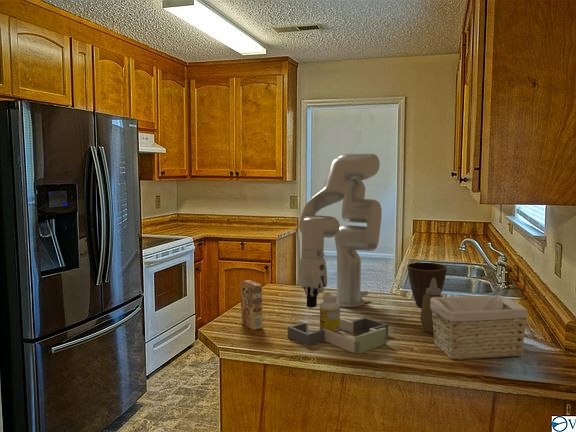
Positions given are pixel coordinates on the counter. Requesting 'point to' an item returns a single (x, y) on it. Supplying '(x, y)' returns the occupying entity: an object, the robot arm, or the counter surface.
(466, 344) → the storage basket
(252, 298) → the candy box
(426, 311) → the squeeze bottle
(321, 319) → the supplement bottle
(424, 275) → the plant pot
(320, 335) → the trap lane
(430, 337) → the counter surface
